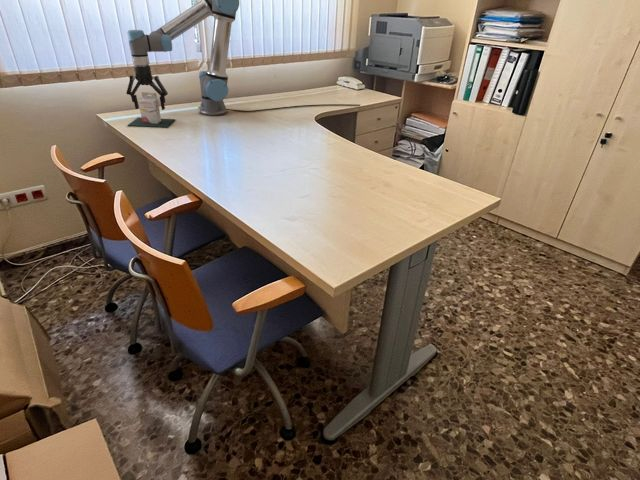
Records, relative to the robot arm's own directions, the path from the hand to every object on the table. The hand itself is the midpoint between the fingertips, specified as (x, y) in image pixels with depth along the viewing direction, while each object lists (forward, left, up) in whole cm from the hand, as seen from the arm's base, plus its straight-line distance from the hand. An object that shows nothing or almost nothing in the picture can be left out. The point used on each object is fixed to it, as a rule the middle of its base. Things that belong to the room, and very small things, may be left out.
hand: (150, 108), depth 207 cm
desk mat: (0, 0, -7) cm, 7 cm away
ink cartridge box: (0, 0, -7) cm, 7 cm away
